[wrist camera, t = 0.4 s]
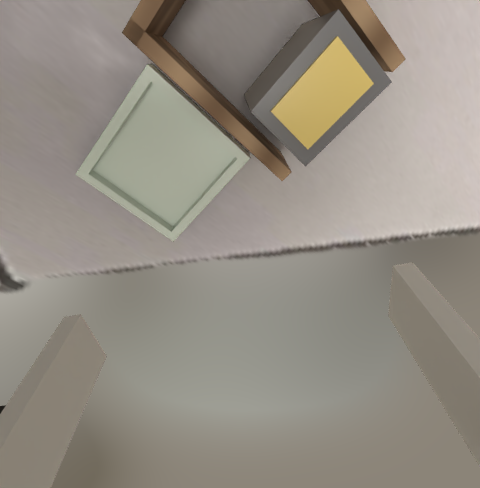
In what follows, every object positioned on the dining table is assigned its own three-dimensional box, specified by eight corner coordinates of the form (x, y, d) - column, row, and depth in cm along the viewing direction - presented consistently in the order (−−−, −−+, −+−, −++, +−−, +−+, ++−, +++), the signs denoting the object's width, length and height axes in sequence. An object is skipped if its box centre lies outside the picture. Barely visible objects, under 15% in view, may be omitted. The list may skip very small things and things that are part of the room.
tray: (82, 169, 35) (75, 174, 33) (151, 63, 30) (147, 64, 28) (175, 234, 40) (173, 241, 38) (249, 153, 34) (250, 158, 33)
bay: (144, 37, 29) (121, 32, 23) (240, -118, 24) (245, -176, 18) (273, 159, 35) (282, 181, 29) (370, 58, 30) (405, 59, 24)
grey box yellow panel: (244, 94, 31) (250, 112, 22) (302, 24, 28) (340, 8, 19) (284, 135, 34) (306, 167, 24) (342, 73, 31) (394, 82, 21)
